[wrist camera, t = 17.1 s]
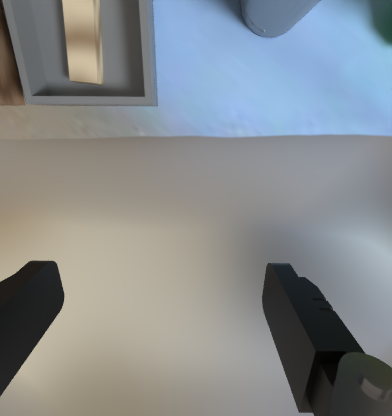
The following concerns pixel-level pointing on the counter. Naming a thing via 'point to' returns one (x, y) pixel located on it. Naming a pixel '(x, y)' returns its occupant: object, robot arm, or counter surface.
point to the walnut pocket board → (8, 69)
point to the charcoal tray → (111, 54)
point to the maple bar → (83, 41)
